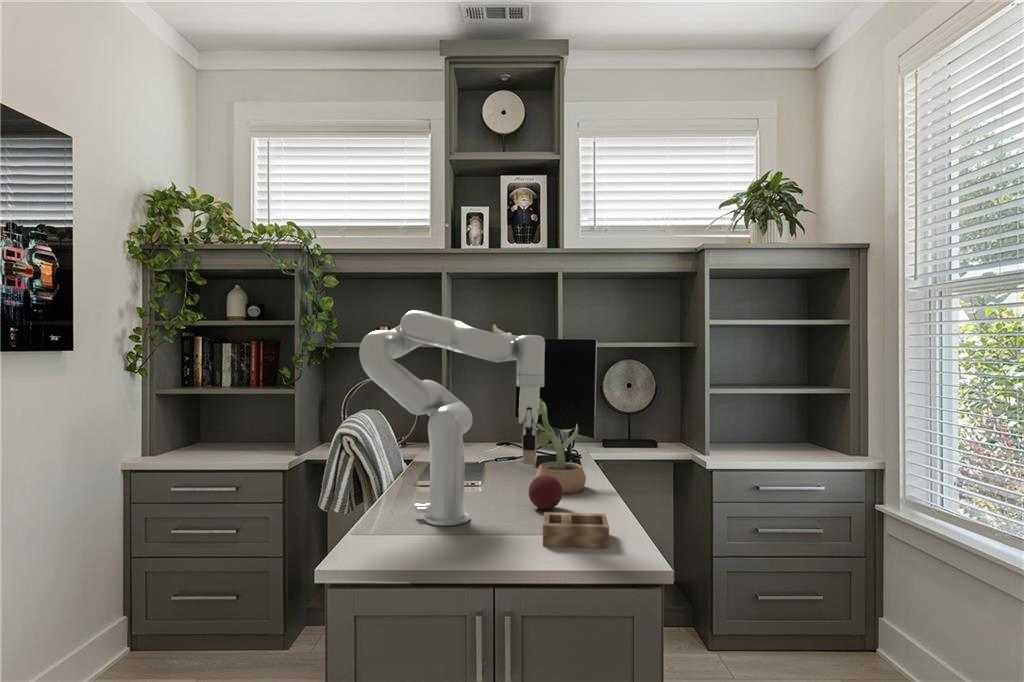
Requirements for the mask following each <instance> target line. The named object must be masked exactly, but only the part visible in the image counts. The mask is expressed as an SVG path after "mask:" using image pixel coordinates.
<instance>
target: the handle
mask: <svg viewBox="0 0 1024 682" xmlns="http://www.w3.org/2000/svg"><path fill="white" fill-rule="evenodd" d="M518 413H519V407H518ZM541 413H542V409H541V408H539V409H538V416H541V415H542V414H541ZM531 415H532V414H531ZM526 422H527V421H526ZM531 423H533V421H531ZM534 424H535V423H534ZM536 429H537V423H536V424H535V425H534V435H535V450H523V439H522V440H521V441H522V442H521V445H522V446H521V448H522V449H521V450H522V457H523V459H522V463H523V464H524V465H526V466H527V465H528V466H529V465H530V466H531V465H535V464H536V461H537V460H536V459H537V457H536V456H537V449H538V445H537V436H538V435H537V430H536ZM522 435H524V425H523V430H522Z"/></svg>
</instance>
